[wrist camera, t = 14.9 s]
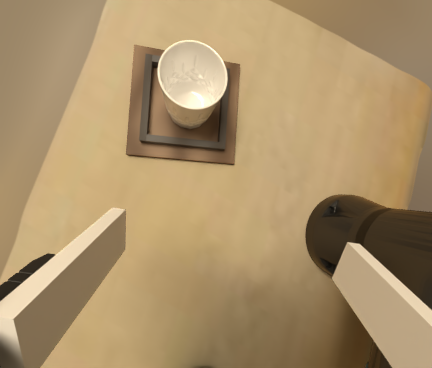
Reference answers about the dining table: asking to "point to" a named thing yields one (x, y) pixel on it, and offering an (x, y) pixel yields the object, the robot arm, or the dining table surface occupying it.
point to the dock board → (171, 132)
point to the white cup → (191, 82)
